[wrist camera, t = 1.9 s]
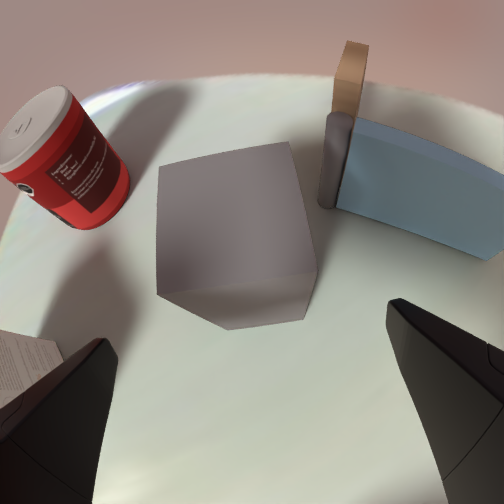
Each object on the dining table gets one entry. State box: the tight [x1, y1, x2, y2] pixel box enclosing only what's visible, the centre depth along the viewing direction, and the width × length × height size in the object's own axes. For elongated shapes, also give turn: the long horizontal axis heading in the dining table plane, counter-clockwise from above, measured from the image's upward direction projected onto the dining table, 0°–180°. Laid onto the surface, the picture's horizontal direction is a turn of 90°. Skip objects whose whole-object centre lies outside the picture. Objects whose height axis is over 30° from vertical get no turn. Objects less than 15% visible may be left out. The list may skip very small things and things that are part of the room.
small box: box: [0, 330, 64, 408], centre depth 14 cm, size 8×6×10 cm
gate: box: [318, 111, 504, 261], centre depth 16 cm, size 15×1×8 cm, turn 69°
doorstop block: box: [156, 142, 318, 330], centre depth 15 cm, size 5×5×11 cm
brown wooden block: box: [331, 41, 369, 187], centre depth 18 cm, size 5×1×10 cm, turn 159°
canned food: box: [0, 85, 130, 230], centre depth 20 cm, size 8×8×11 cm
